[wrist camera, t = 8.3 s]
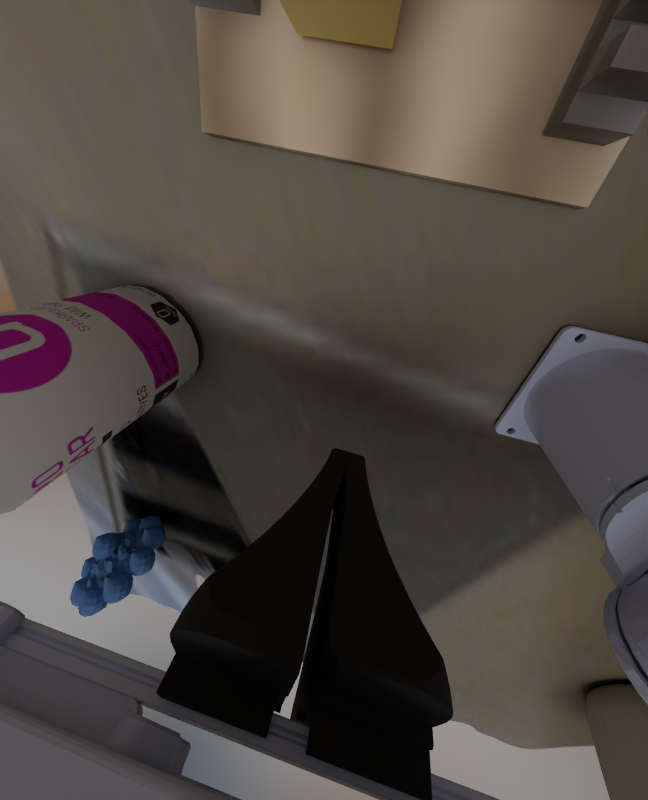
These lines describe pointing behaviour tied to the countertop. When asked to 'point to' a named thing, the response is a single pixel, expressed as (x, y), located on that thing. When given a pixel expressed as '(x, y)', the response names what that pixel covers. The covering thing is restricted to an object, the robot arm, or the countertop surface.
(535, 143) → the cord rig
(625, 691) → the canister
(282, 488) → the countertop surface
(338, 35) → the sleeve
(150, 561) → the grapes
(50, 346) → the supplement can
